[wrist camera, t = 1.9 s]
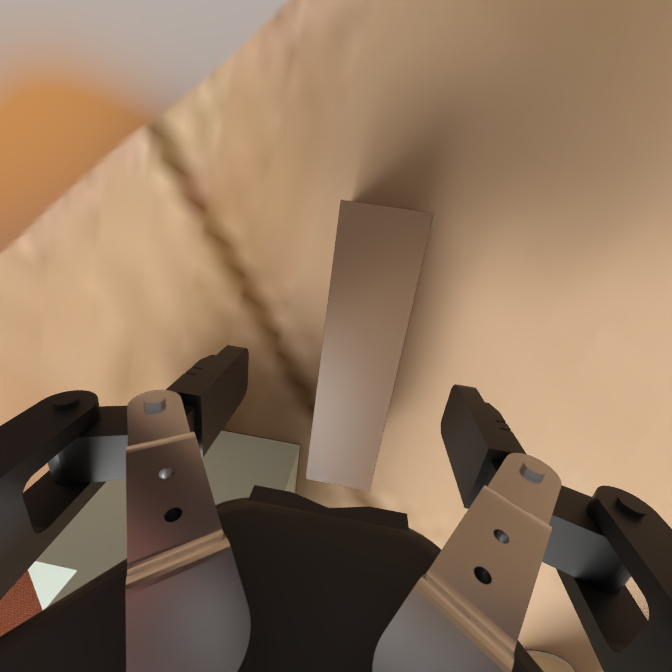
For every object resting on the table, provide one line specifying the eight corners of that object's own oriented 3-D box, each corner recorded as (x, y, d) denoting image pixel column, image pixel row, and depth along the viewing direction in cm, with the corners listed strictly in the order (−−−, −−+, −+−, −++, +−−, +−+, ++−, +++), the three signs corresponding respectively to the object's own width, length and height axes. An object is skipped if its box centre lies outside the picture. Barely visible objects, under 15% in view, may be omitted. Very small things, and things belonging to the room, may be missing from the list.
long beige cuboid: (417, 212, 16) (433, 212, 12) (370, 431, 22) (369, 491, 17) (350, 203, 17) (340, 199, 12) (320, 422, 22) (305, 478, 17)
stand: (300, 445, 22) (224, 673, 11) (286, 572, 28) (225, 814, 17) (165, 419, 23) (-31, 611, 12) (177, 549, 28) (47, 766, 17)
